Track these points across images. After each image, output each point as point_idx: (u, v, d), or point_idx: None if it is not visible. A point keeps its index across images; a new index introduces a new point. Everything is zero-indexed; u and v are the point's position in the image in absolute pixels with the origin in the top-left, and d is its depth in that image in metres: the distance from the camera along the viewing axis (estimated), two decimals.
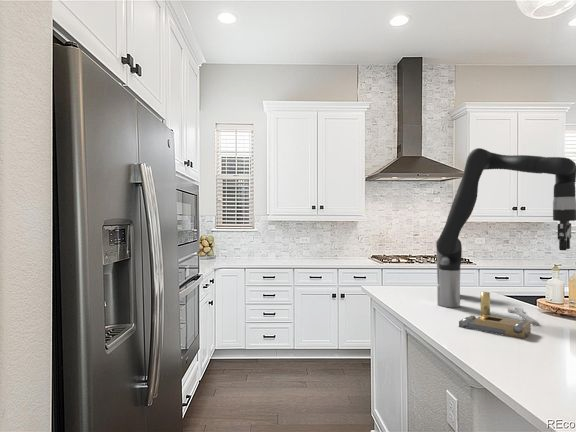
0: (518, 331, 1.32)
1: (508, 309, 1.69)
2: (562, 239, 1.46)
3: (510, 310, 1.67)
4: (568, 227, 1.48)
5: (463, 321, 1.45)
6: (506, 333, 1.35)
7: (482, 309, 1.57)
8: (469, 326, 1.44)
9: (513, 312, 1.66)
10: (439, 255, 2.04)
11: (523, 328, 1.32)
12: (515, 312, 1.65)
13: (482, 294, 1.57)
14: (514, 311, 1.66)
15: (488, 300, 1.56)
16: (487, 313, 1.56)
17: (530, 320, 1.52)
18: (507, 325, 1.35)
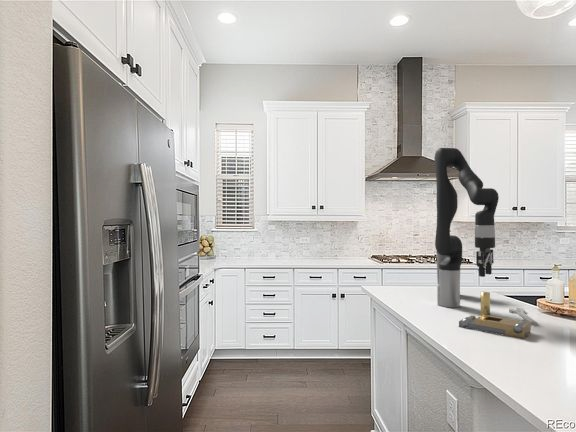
0: (518, 331, 1.32)
1: (509, 309, 1.68)
2: (480, 266, 1.53)
3: (511, 310, 1.67)
4: (487, 254, 1.55)
5: (463, 321, 1.45)
6: (506, 333, 1.35)
7: (482, 309, 1.57)
8: (469, 326, 1.44)
9: (514, 312, 1.66)
10: (439, 255, 2.04)
11: (523, 328, 1.32)
12: (516, 312, 1.65)
13: (482, 294, 1.57)
14: (515, 311, 1.65)
15: (488, 300, 1.56)
16: (487, 313, 1.56)
17: (529, 320, 1.52)
18: (507, 325, 1.35)
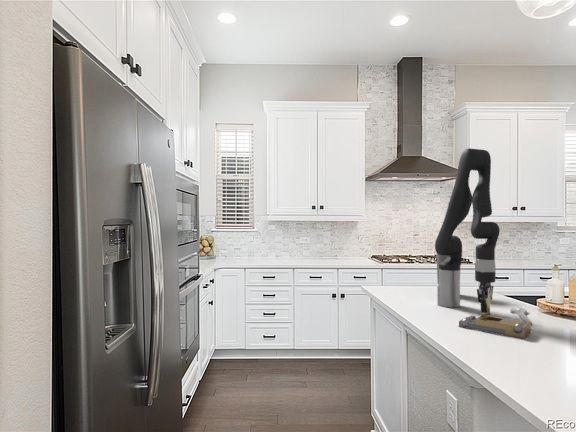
0: (518, 331, 1.32)
1: (511, 309, 1.68)
2: None
3: (512, 310, 1.67)
4: (487, 289, 1.55)
5: (463, 321, 1.45)
6: (506, 333, 1.35)
7: None
8: (469, 326, 1.44)
9: (515, 312, 1.66)
10: (439, 255, 2.04)
11: (523, 328, 1.32)
12: (516, 312, 1.65)
13: None
14: (515, 311, 1.65)
15: (488, 300, 1.56)
16: (487, 313, 1.56)
17: None
18: (507, 325, 1.35)
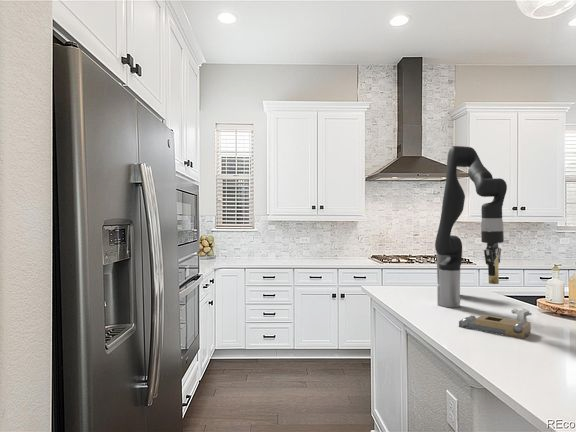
0: (518, 331, 1.32)
1: None
2: None
3: (513, 310, 1.67)
4: (495, 250, 1.43)
5: (463, 321, 1.45)
6: (506, 333, 1.35)
7: None
8: (469, 326, 1.44)
9: (515, 312, 1.65)
10: (439, 255, 2.04)
11: (523, 328, 1.32)
12: (516, 312, 1.64)
13: None
14: (516, 311, 1.65)
15: (496, 263, 1.44)
16: (496, 276, 1.44)
17: None
18: (507, 325, 1.35)
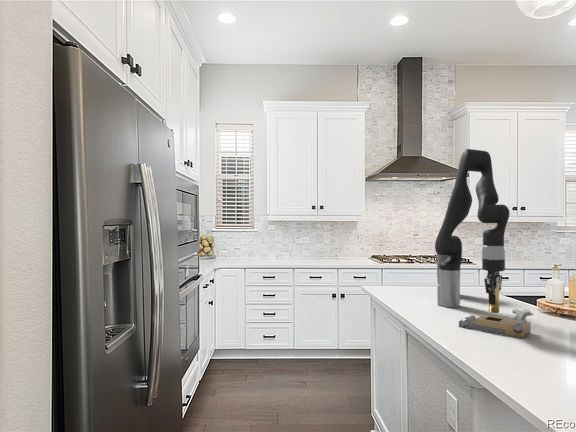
0: (518, 331, 1.32)
1: None
2: None
3: (513, 310, 1.66)
4: (496, 279, 1.40)
5: (463, 321, 1.45)
6: (506, 333, 1.35)
7: None
8: (469, 326, 1.44)
9: (516, 313, 1.65)
10: (439, 255, 2.04)
11: (523, 328, 1.32)
12: (517, 313, 1.64)
13: None
14: (516, 312, 1.65)
15: (497, 291, 1.41)
16: (496, 305, 1.41)
17: (516, 319, 1.53)
18: (507, 325, 1.35)
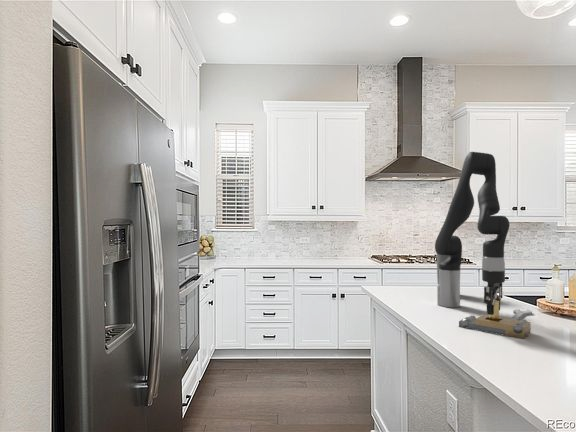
0: (518, 331, 1.32)
1: (514, 310, 1.68)
2: (489, 303, 1.38)
3: (514, 311, 1.66)
4: (496, 289, 1.40)
5: (463, 321, 1.45)
6: (506, 333, 1.35)
7: (490, 319, 1.42)
8: (469, 326, 1.44)
9: (516, 313, 1.65)
10: (439, 255, 2.04)
11: (523, 328, 1.32)
12: (517, 313, 1.64)
13: None
14: (516, 312, 1.64)
15: (497, 309, 1.41)
16: None
17: None
18: (507, 325, 1.35)
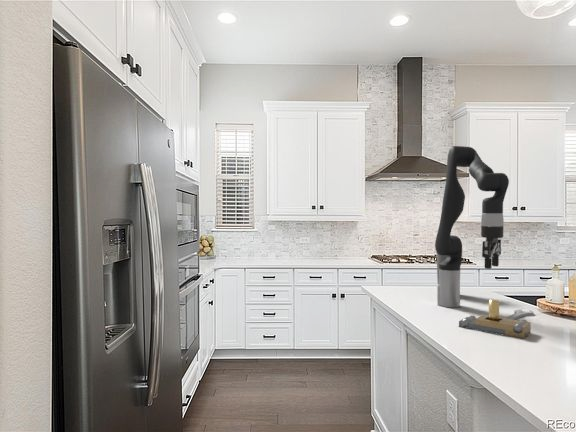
0: (518, 331, 1.32)
1: (515, 310, 1.67)
2: (486, 257, 1.41)
3: (515, 311, 1.66)
4: (494, 244, 1.43)
5: (463, 321, 1.45)
6: (506, 333, 1.35)
7: (490, 319, 1.42)
8: (469, 326, 1.44)
9: (516, 313, 1.65)
10: (439, 255, 2.04)
11: (523, 328, 1.32)
12: (517, 313, 1.64)
13: (490, 302, 1.42)
14: (516, 312, 1.64)
15: (497, 309, 1.41)
16: None
17: None
18: (507, 325, 1.35)
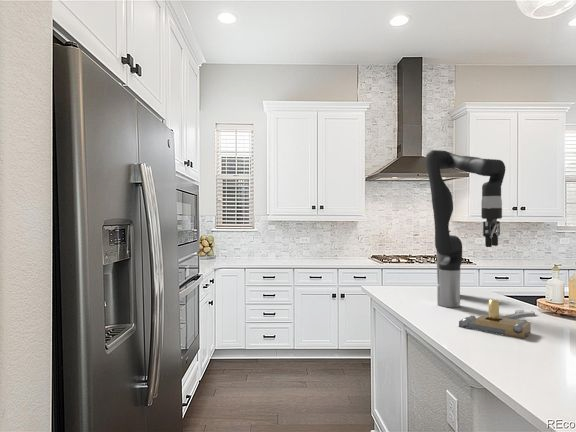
0: (518, 331, 1.32)
1: (517, 310, 1.67)
2: (487, 236, 1.53)
3: (516, 311, 1.66)
4: (494, 225, 1.55)
5: (463, 321, 1.45)
6: (506, 333, 1.35)
7: (490, 319, 1.42)
8: (469, 326, 1.44)
9: (517, 313, 1.65)
10: (439, 255, 2.04)
11: (523, 328, 1.32)
12: (517, 313, 1.64)
13: (490, 302, 1.42)
14: (517, 312, 1.64)
15: (497, 309, 1.41)
16: None
17: None
18: (507, 325, 1.35)
